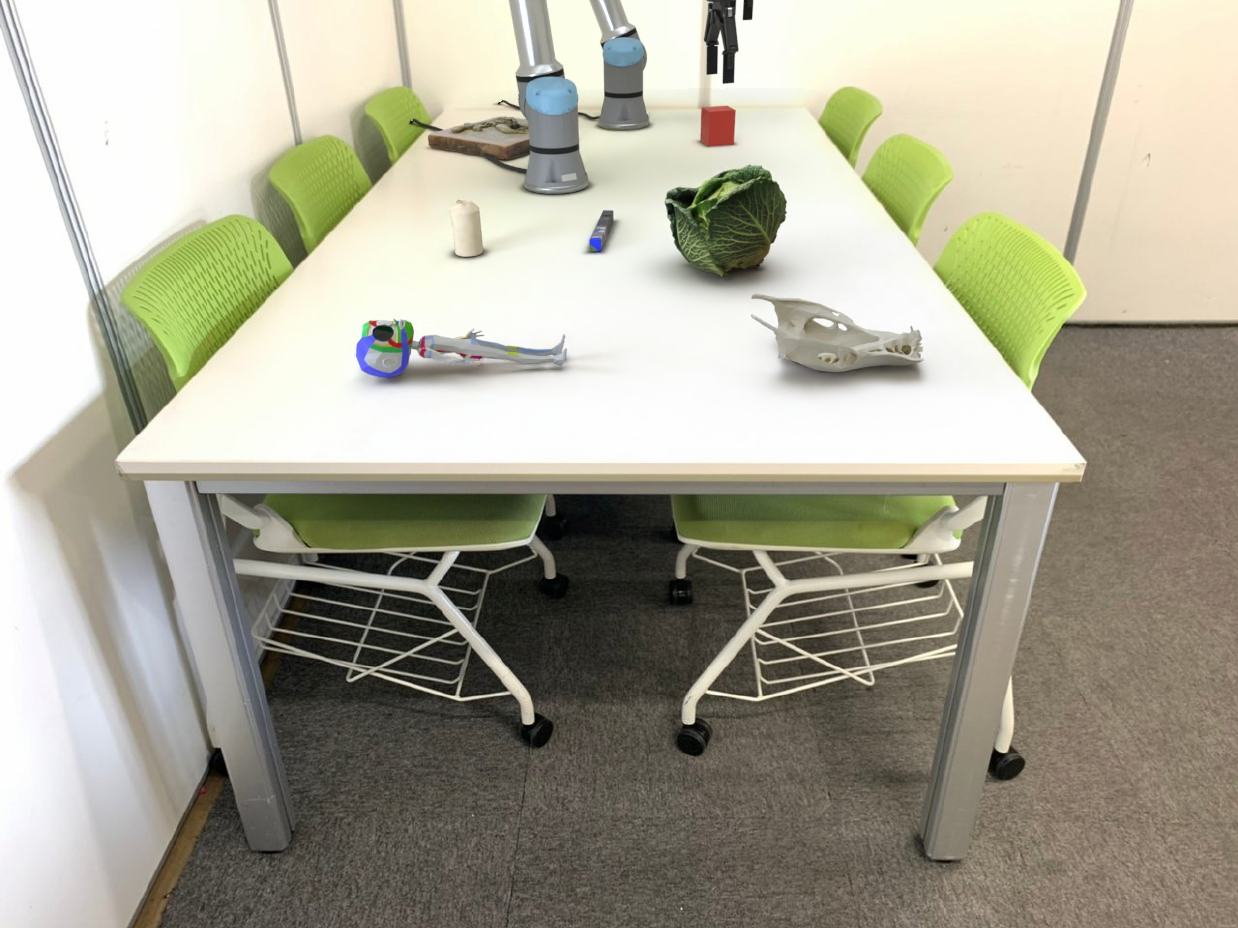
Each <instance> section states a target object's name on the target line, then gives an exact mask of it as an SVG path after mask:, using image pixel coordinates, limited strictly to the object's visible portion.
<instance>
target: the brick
mask: <svg viewBox="0 0 1238 928" xmlns="http://www.w3.org/2000/svg"><path fill="white" fill-rule="evenodd" d="M736 110H737V109H734V108H733V107H731V106H729V105H716V106H715V105H714V106H702V107H701V110H700V134H699V135H700V136H699V137H700V140H699V141H700V142H701V143H702V144H704V145H705V146H706V147H717V146H718V147H719V146H731V145H732V146H733V145H735V133H736V132H735V131H736V114H737V113H736Z"/></svg>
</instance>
